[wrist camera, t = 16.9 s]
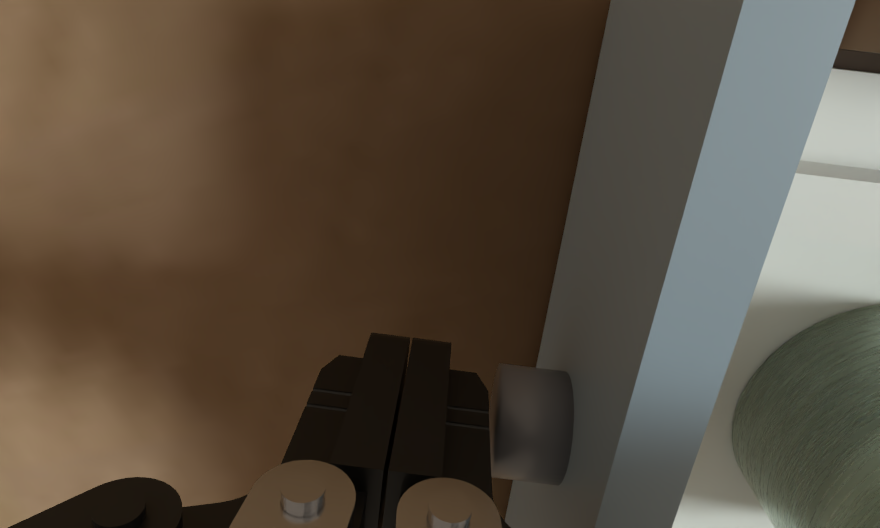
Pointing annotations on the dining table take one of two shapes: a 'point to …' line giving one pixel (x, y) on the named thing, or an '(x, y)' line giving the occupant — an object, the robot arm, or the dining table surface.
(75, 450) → the dining table surface
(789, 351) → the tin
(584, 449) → the grey drawer
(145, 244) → the dining table surface
